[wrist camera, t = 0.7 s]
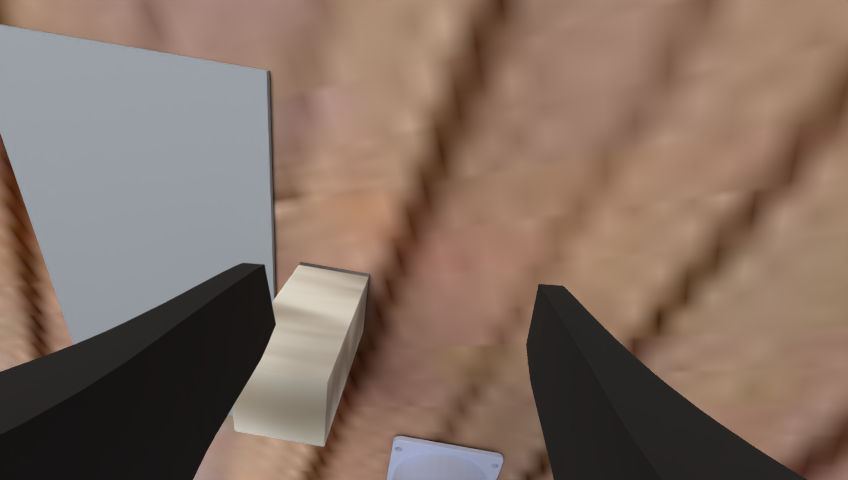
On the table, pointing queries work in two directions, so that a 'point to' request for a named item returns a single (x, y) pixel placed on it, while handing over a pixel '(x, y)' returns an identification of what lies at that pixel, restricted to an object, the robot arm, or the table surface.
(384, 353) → the table surface
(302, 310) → the birch block
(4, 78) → the mat
